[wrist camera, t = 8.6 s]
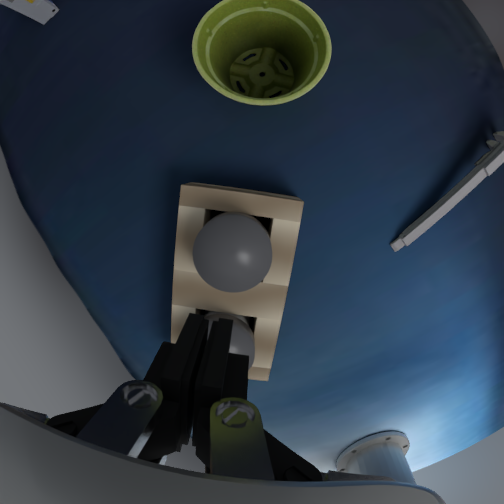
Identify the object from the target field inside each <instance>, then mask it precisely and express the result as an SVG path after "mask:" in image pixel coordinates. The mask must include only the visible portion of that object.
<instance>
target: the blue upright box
mask: <svg viewBox="0 0 504 504" xmlns="http://www.w3.org/2000/svg"><path fill="white" fill-rule="evenodd" d="M0 4H3V5H5V6H7V7H9V8H11V9H13V10H16V11H18V12H20V13H22V14H24V15H26V16H28V17H30V18H32V19H34V20H36V21H38V22H40V23H41V24H43V25H44V24H45V23H46V22H47V21H48V20H49V19H50V18H52V17H53V16H54V15H55V14H56V13H57V12H58V11H59V9H58V8H57V7H56V6H55V4H54V3H53V2H52V1H51V0H0Z"/></svg>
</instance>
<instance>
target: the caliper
mask: <svg viewBox="0 0 504 504" xmlns="http://www.w3.org/2000/svg"><path fill="white" fill-rule="evenodd" d="M493 135H494V137H495V139H496V141H493V140H487V142H486V143H487V145H488V147H489V148H490V150H491V151H490V152H487V153H486V154H485V155H483V156H482V157H481V158H480V159H479V160H478V161H477V162H476V163H475V166H476V167H475V168H474V169H473V170H472V171H471V172H470V173H469V174H467V175H466V176H465V177H464V178H463V179H462V180H461V181H460V182H459V183H458V184H457V185H456V186H454V187H453V188H452V189H451V190H450V191H449V192H448V193H447V194H446V195H444V196H443V197H442V198H441V199H440V200H439V201H438V202H436V203H435V204H434V205H433V206H432V207H431V208H430V209H428V210H427V211H426V212H425V213H424V214H422V215H421V216H420V217H419V218H418V219H417V220H415V221H414V222H413V223H412V224H411V225H409V226H408V227H407V228H406V229H405V230H404V231H403V232H402V233H401V234H400V235H399V237H398V238H397V239H396V240H394V241H393V242H392V243H391V244H390V246H391V247H392V248H393V250H394V251H395V252H396V251H398V250H399V249H401V248H402V247H403V246H404V245H406V246H408V245H409V244H411V243H412V242H413V241H414V240H415V239H417V238H418V237H419V236H420V235H421V234H423V233H424V232H425V231H426V230H427V229H429V228H430V227H431V226H432V225H433V224H435V223H436V222H437V221H438V220H439V219H440V218H442V217H443V216H444V215H445V214H446V213H447V212H448V211H449V210H451V209H452V208H453V207H454V206H455V205H456V204H457V203H458V202H459V201H461V200H462V199H463V198H464V197H465V196H466V195H467V194H468V193H469V192H470V191H471V190H472V189H474V188H475V187H476V186H477V185H478V184H479V183H480V182H481V181H482V180H483V179H484V178H485V177H486V176H490V175H491V174H492V173H493V172H494V171H495V170H496V169H497V168H498V167H499V166H500V165H501V164H502V163H503V162H504V131H503V132H495V133H493ZM497 141H500V142H501V143H499V142H497Z"/></svg>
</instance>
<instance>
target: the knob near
mask: <svg viewBox="0 0 504 504" xmlns="http://www.w3.org/2000/svg"><path fill="white" fill-rule="evenodd" d="M193 262H194V265H195V268H196V270H197V272H198V274H199V275H200V276H201V278H202V279H203V280H204V281H205V282H206V283H207V284H209V285H210V286H212V287H213V288H215V289H218V290H220V291H224V292H231V293H236V292H243V291H246V290H249V289H251V288H253V287H255V286H256V285H258V284H259V283H260V282H261V281H262V280H263V279H264V278H265V276H266V275H267V273H268V272H269V269H270V267H271V263H272V246H271V241H270V237H269V234H268V232H267V230H266V229H265V227H264V226H263V225H262V224H261V223H260V222H259V221H258V220H257V219H256V218H254V217H253V216H252V215H248V214H246V213H242V212H225V213H222V214H219V215H217V216H215V217H214V218H212V219H211V220H210V221H208V222H207V223H206V225H205V226H204V227H203V228H202V229H201V230H200V232H199V233H198V235H197V237H196V239H195V241H194V245H193Z"/></svg>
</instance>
